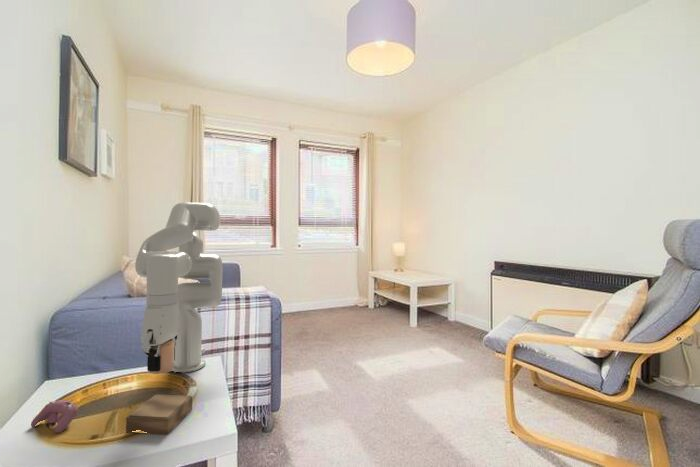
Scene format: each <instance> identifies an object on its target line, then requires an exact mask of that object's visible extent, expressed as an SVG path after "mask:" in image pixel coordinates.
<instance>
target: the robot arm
mask: <svg viewBox="0 0 700 467" xmlns="http://www.w3.org/2000/svg"><path fill="white" fill-rule="evenodd" d="M220 224H221V216H220V212H219V211H218V208H216V206H214V205H213V204H212V203H206V202H179V203H176V204H174V205H173V207H172V208H171V211H170V214H169V217H168V220H167V222H166V225H165V228H162V229H160V230H158V231H156V232H155V233H153V234H152V235H150V236H149V237H147V238H146V239H145V240H144V241H143V242H142V244H141V245H140V248H139V251H138V253H137V255H136V259H135V264H134V266H135V272H136V273H137V275H139V276H140V277H141V278H146V298H145V301H146V304H145V306H146V307H145V308H144V312H143V318H142V323H141V324H142V327H141V340H140V341H141V346H140V347H141V349H140V350H142V351H143V352H144V354H145V356H146V358H147V362H146V364H147V368H146V369H147V371H148V372H149V371H157V372H158V371H160V363H161V356H159V352H160V347H161V344H163V343H165V342H167V341H168V340H170V339H171V340H173V341H174V369H173V370H171V371H170V372H172V371H175V372H174V373H176V372H182V373H183V374H184V373H191V372H194V371H198V370H200V369H201V368H203V367H205V365H206V359H205V358H203V357H202V354H204V353H205V352H206V350H205V347H202V336H203V335H202V334H203V333H202V326H203V324H202V316H201V314H200V313H199V311H197V309H201V308H216V307H219V305H221V303H222V299H223V298H222V297H223V274H224V273H223V269H224V268H223V266H224V265H223V261H222V258H221V257H220V256H219V255H217V254H213V253H212V254H210V253H208V254H204V242H203V239H202V238H201V237H200V235H199V234H198V233H196V231H216V230H218V228H219V227H220ZM175 248H178V251H168V250H172V249H175ZM179 278H181V279H183V280H209V282H208V281H207V282H206V281H205V282H199V281H198V282H183V283H179ZM153 342H156V344H153ZM153 346H156V350H154V349H153V348H152V347H153Z"/></svg>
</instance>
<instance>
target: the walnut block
mask: <svg viewBox="0 0 700 467" xmlns="http://www.w3.org/2000/svg"><path fill="white" fill-rule="evenodd" d="M191 410H192V411H193V395H175V394H174V395H173V394H154V395H152V396H151V398H149V399H148V400H146V401H145V402H144V403H143V404H141V405H140V406H138V408H136V409H135V410H134V411H132V412H131V413H130V414H129V415H127V416H126V418H125V420H126V425H125V426H126V427H125V430H126V431H125V432H126V433H128V432H132V431H136V430H141V431H144V432H147V433H150V435H165V436H166V435H167V436H168V435H169V434H170V433H171V432H173V430H174V429H175V428H176V427H177V426H178V425H179V424H180V423H181V422H182V421H183V420H184V419H185V418H186V417H187V416H188V415H189V414H188V413H189V412H190V411H191ZM192 411H191V412H192ZM191 412H190V413H191ZM187 414H188V415H187ZM128 434H129V433H128Z"/></svg>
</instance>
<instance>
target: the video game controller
mask: <svg viewBox="0 0 700 467" xmlns="http://www.w3.org/2000/svg"><path fill="white" fill-rule="evenodd" d="M78 413H79V407H78V405H76V404H74V403H73V402H72V401H70V400H66V399H65V400H64V399H59V400H53V401H49V402H48V403H47V404H45V405H44V406H43V407H42V409H41V410H40V411H39V412H38V413H37V415H36V416H35V417H33V419H32V421H31V424H30V427H31V428H36V427H35V425H36V424H37V423H38V422H40V421H43V420H45V421H46V420H47V419H48V420H47V422H48V423H49V424H56V426H55V428H54V432H55V433H56V434H59V433H61V432H63V431H64V430H66V429H67V428H68V426H69V425H70V424H71V423H72V421H73V419H74V418H75V417H76V416H77V414H78ZM60 414H61V415H60Z"/></svg>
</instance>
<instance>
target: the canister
mask: <svg viewBox="0 0 700 467" xmlns="http://www.w3.org/2000/svg"><path fill="white" fill-rule="evenodd" d="M153 344H156V342H153ZM152 348H153V349H154V350H156V346H153V347H152ZM159 356H161V363H160V371H158V372H157V371H148V373H149V374H153V375H160V374H164V373H165V374H166V373H168V372H172V371H171V370H173V369H174V341H173V340H171V339H170V340H168V341H167V342H165V343H163V344H161V347H160V352H159Z"/></svg>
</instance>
